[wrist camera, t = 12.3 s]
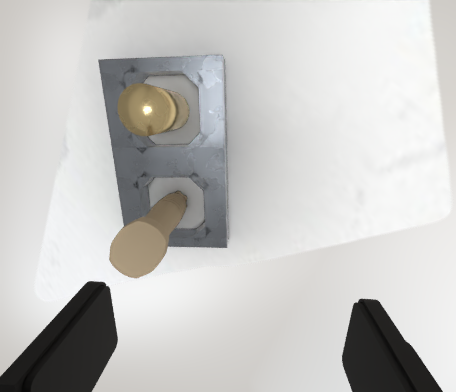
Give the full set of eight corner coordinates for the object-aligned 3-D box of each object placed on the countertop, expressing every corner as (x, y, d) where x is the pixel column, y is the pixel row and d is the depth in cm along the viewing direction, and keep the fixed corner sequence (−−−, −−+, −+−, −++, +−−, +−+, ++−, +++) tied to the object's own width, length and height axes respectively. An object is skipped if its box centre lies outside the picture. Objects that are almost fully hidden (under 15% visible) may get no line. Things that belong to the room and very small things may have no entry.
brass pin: (150, 91, 35) (113, 83, 25) (187, 90, 34) (164, 82, 25) (154, 130, 36) (121, 136, 27) (190, 129, 36) (168, 135, 26)
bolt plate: (110, 64, 34) (98, 59, 31) (224, 59, 33) (222, 54, 30) (135, 236, 42) (127, 245, 39) (228, 238, 40) (226, 247, 38)
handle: (153, 206, 40) (99, 258, 26) (176, 174, 38) (133, 211, 24) (178, 224, 40) (140, 286, 26) (203, 194, 39) (176, 242, 24)
